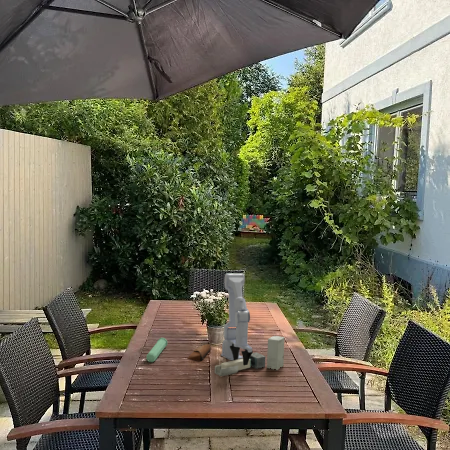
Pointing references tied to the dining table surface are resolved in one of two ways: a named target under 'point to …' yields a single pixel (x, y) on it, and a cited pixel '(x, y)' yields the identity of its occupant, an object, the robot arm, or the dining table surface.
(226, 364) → the inner rod
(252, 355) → the socket
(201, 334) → the dining table surface
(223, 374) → the sleeve
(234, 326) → the robot arm
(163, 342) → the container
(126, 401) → the dining table surface
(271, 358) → the skincare box
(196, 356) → the sunglasses case
